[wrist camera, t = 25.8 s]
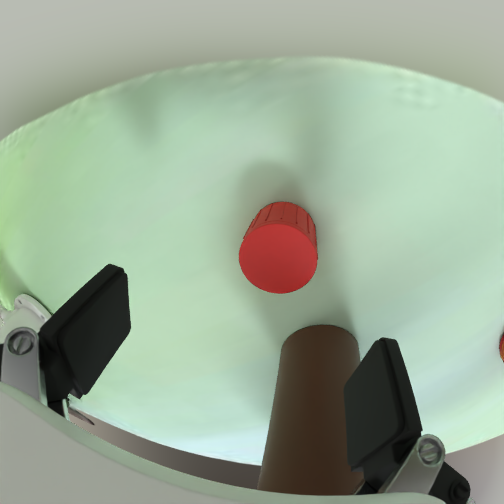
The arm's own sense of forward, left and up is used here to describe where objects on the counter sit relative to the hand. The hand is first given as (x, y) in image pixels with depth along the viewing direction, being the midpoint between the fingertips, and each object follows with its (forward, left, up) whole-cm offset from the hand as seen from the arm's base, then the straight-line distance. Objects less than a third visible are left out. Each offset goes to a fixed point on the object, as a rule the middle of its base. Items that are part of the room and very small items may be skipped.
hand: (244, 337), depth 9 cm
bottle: (+6, -9, -9) cm, 14 cm away
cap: (+1, +1, -9) cm, 9 cm away
